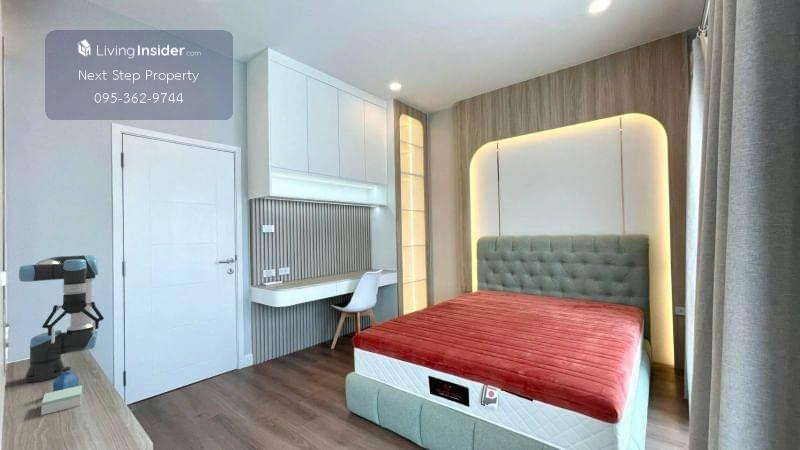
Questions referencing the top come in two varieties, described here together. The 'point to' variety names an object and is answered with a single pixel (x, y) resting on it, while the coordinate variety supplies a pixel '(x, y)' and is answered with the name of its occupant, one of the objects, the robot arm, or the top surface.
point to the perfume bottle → (65, 380)
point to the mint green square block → (61, 400)
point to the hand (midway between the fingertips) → (74, 339)
